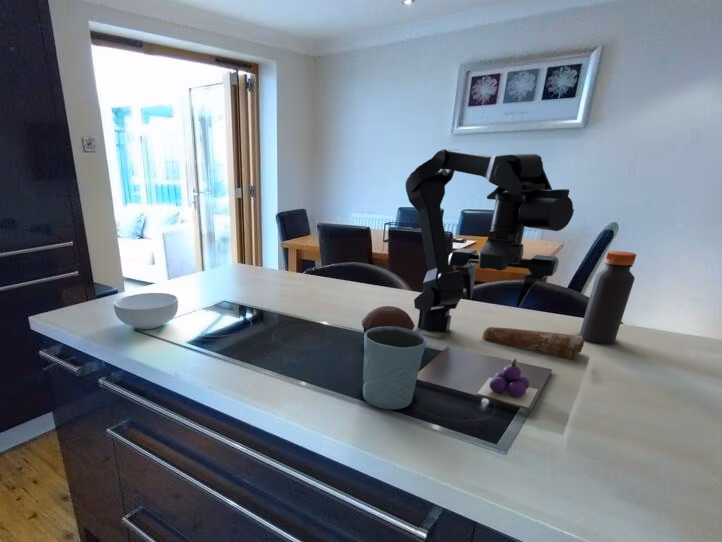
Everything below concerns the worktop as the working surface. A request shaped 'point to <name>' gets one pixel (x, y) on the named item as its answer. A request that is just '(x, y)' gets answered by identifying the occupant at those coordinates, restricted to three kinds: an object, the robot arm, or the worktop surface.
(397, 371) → the grey green cup
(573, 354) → the bread
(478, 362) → the serving board
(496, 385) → the grapes
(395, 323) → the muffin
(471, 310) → the worktop surface
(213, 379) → the worktop surface
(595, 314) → the bottle
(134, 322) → the cereal bowl
